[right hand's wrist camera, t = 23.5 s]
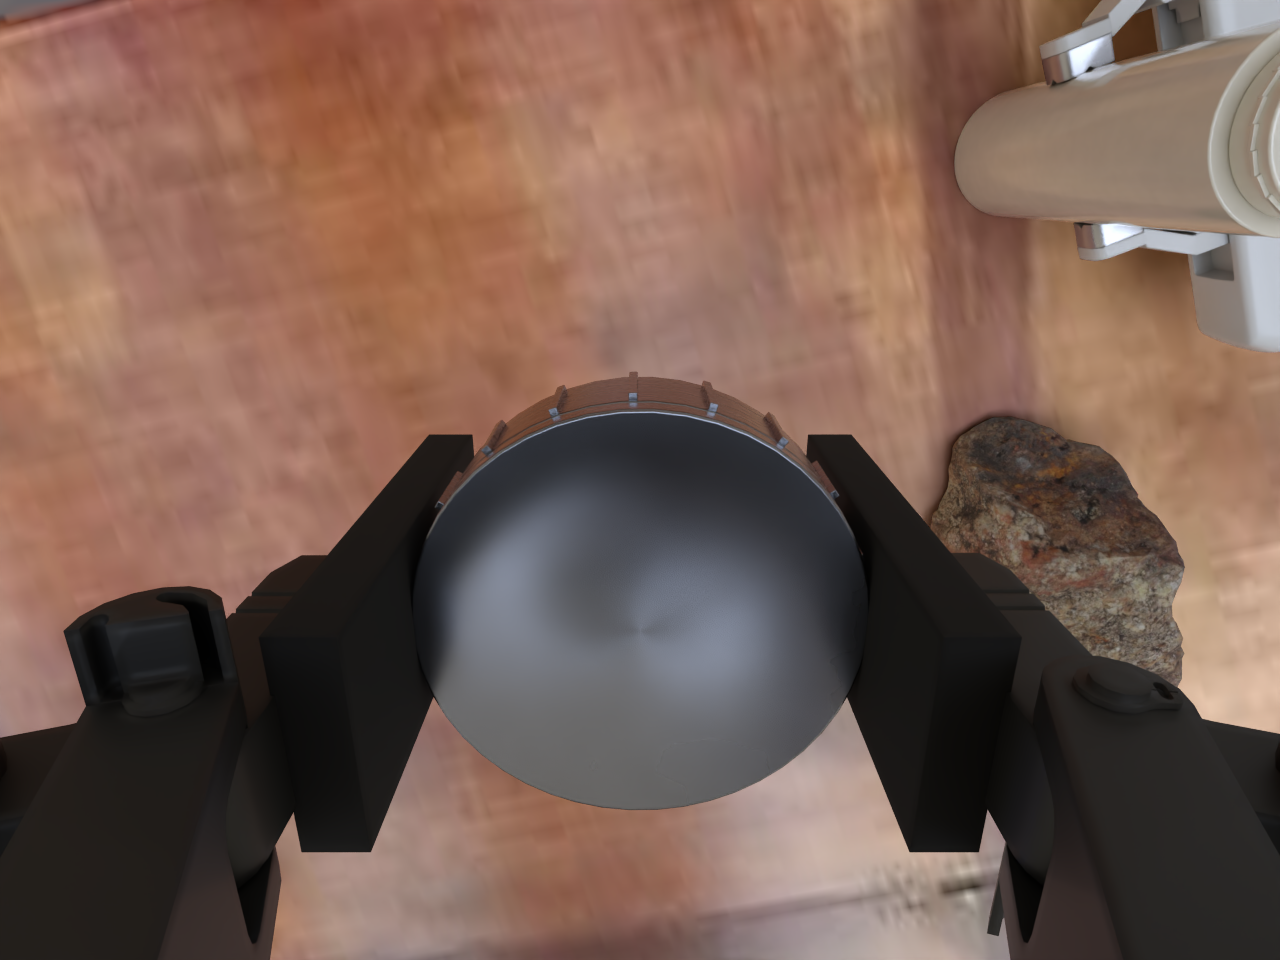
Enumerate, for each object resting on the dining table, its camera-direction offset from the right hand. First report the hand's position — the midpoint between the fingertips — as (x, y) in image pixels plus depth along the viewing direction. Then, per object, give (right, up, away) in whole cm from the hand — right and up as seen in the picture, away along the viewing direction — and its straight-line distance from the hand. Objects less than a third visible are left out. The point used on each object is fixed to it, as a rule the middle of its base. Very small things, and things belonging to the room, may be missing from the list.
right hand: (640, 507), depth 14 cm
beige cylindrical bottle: (+17, +15, +22) cm, 32 cm away
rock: (+20, -3, +29) cm, 35 cm away
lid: (0, -1, -4) cm, 4 cm away
